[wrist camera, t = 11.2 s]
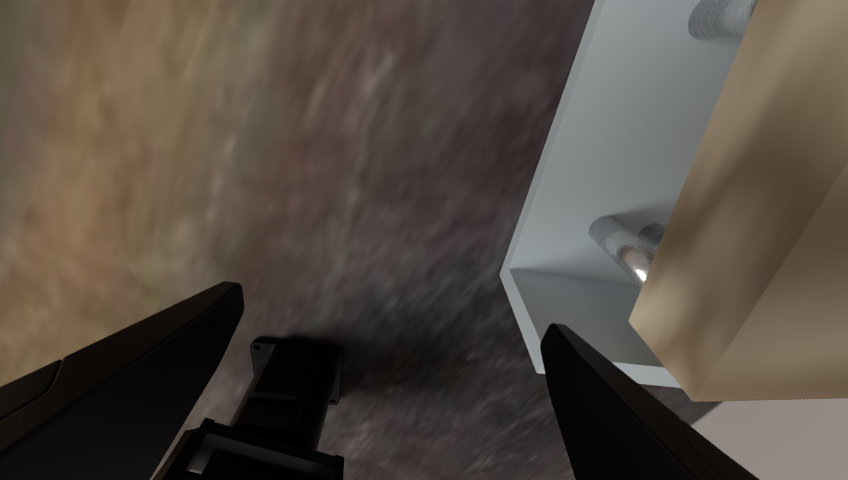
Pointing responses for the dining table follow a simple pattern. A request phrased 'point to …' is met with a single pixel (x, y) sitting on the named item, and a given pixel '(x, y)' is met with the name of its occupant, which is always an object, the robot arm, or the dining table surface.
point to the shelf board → (762, 223)
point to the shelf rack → (618, 170)
